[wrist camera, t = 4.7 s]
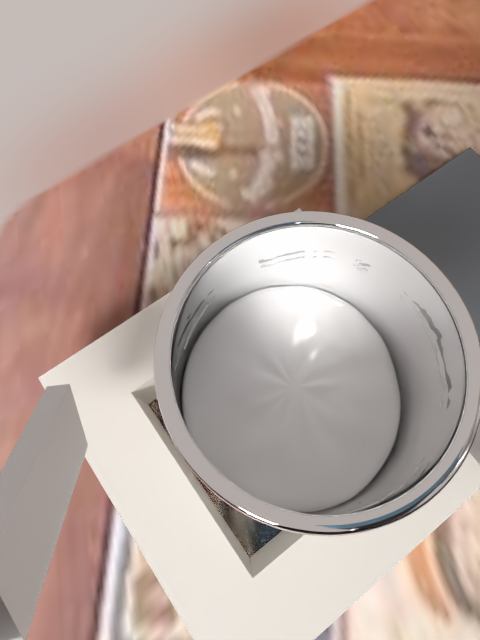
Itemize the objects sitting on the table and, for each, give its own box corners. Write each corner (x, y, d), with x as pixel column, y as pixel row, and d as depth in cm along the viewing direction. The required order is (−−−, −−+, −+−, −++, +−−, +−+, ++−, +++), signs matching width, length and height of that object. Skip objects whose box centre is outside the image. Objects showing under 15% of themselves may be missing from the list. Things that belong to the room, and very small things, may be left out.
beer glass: (191, 485, 22) (107, 524, 7) (210, 351, 24) (173, 185, 10) (329, 502, 22) (513, 576, 7) (336, 366, 24) (486, 218, 10)
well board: (290, 245, 26) (299, 207, 22) (470, 455, 22) (518, 453, 18) (70, 392, 23) (38, 377, 19) (235, 662, 19) (235, 710, 16)
